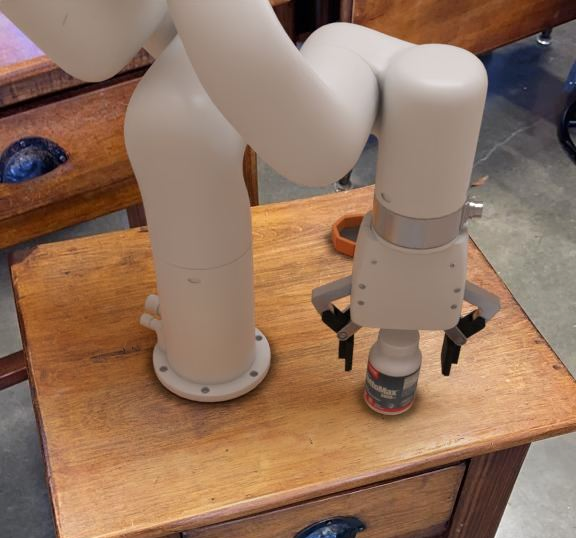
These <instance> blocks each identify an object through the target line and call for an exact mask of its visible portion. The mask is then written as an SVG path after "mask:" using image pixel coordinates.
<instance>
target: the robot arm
mask: <svg viewBox="0 0 576 538" xmlns="http://www.w3.org/2000/svg"><path fill="white" fill-rule="evenodd" d="M0 13H1V14H2V15H3V16H4V17H5V18H6V19H8V20H9V21H10V22H11V23H12V24H13V25H14V26H15V27H16V28H17V29H18V30H19V31H20V32H21V33H22V34H23V35H24V36H26V38H28V40H30V41H31V43H32V44H34V45H35V46H36V47H37V48H38V49H39V50H40V51H41V52H42V53H43V54H44V55H46V57H48V59H50V60H51V61H52V62H53V63H55V65H56V66H58V68H60V69H61V70H62V71H64V72H65V73H67V74H68V75H70V76H72V77H73V78H75V79H77V80H80V81H82V82H87V83H100V82H105V81H106V80H109V79H111V78H113V77H114V76H115V75H117V74H118V73H119V72H120V71H122V70H123V69H124V68H125V67H126V66H127V65H128V64H129V63H130V62H131V61H132V60H133V59H134V58H135V56H137V54H138V53H139V52H140V51H141V50H142V49H144V50H145V51H146V52H147V53H148V54H149V55H150V56H151V57H152V58H153V59H154V62H153V63H152V64H151V65H150V67H149V68H148V69H147V71H146V72H145V73H144V75H143V76H142V77H141V79H140V80H139V82H138V84H137V85H136V87H135V89H134V90H133V92H132V94H131V97H130V99H129V102H128V104H127V107H126V110H125V115H124V122H123V139H124V146H125V150H126V154H127V157H128V160H129V164H130V166H131V168H132V172H133V174H134V176H135V179H136V182H137V185H138V189H139V192H140V196H141V201H142V205H143V209H144V216H145V220H146V226H147V234H148V240H149V244H150V250H151V256H152V261H153V262H152V264H153V269H154V276H155V277H154V278H155V281H156V282H155V283H156V288H157V289H156V290H157V294H155V293H150V294H149V295H148V296H147V297H146V299H145V301H144V309H145V310H146V311H148V312H150V313H152V314H154V315H156V316H159V317H161V318H160V319H159V318H157V317H155V316H153V315H152V314H149V313H147V312H144V313H142V314H141V316H140V317H139V323H140V325H141V326H143V327H145V328H147V329H149V330H153V331H154V332H155V334H156V337H157V342H156V343H155V346H154V348H153V351H152V352H153V353H152V363H153V369H154V373H155V375H156V377H157V379H158V380H159V382H160V383H161V385H163V386H164V387H165V389H167V390H168V391H170V392H171V393H173V394H175V395H176V396H178V397H181V398H184V399H187V400H190V401H196V402H200V403H216V402H224V401H229V400H233V399H236V398H239V397H241V396H244V395H245V394H247V393H249V392H250V391H252V390H254V389H255V388H256V387H257V386H259V385H260V384H261V383H262V381H263V380H264V379H265V377H266V376H267V374H268V373H269V370H270V368H271V360H272V359H271V357H272V356H271V348H270V347H271V346H270V344H269V341H268V339H267V338H266V335H264V333H263V332H262V331H261V330H260V329H259V328H258V327H256V305H255V301H256V300H255V274H254V273H255V272H254V242H253V240H254V239H253V223H252V221H253V220H252V207H251V202H250V201H251V200H250V196H249V192H248V189H247V186H246V182H245V178H244V171H243V170H244V169H243V165H244V164H243V163H244V156H245V152H246V148H247V146H249V147H250V148H251V149H252V151H254V152H255V153H256V155H257V156H258V157H259V158H260V159H261V160H263V162H264V163H265V164H266V165H268V166H269V167H270V168H271V169H272V170H274V171H275V172H276V173H277V174H279V175H280V176H281V177H284V178H285V179H287V180H288V181H290V182H293V183H295V184H297V185H299V186H305V187H311V188H321V187H325V186H328V185H329V186H330V185H332V184H335V183H336V182H338V181H340V180H342V179H343V178H345V176H346V175H347V174H349V173H350V172H351V170H352V169H353V168H354V167H355V165H356V164H357V163H358V161H359V159H360V157H361V155H362V153H363V151H364V148H365V147H366V145H367V142H368V140H369V137H370V135H374V137H375V138H376V139H377V144H378V145H377V156H376V157H377V158H376V168H375V170H376V171H375V182H374V188H373V198H372V199H373V200H372V209H369V210H368V211H367V212H365V215H364V217H363V220H362V223H361V226H360V229H359V233H358V237H357V242H356V247H355V253H354V256H353V261H352V268H351V274H349V275H347V276H344V277H341V278H338V279H336V280H333V281H330V282H328V283H325V284H322V285H320V286H317V287H314V288H313V289H312V290H311V298H310V302H311V304H312V305H313V307H314V309H315V310H316V313H317V314H319V316H320V319H321V322H322V323H323V324H324V325H326V326H327V327H328V328H329V329H331V330H332V331H333V333H335V334H336V339H338V354H337V355H338V356H337V359H338V360H344V372H347V373H349V372H350V371H352V370H353V362H354V361H353V360H354V348H355V334H356V333H357V332H358V331H359V330H361V329H362V328H370V329H380V328H381V329H400V330H418V331H431V332H432V331H433V332H435V331H437V332H438V331H443V332H444V334H443V340H442V346H441V351H440V368H441V375H443V377H450V376H451V375H450V374H451V369H452V366H453V365H458V363H459V359H460V358H459V357H460V354H461V350H462V346H464V345H466V344H467V342H468V339H469V338H471V337H472V336H474V335H476V334H477V333H479V332H480V331H482V330H484V329H485V328H486V325H487V323H488V322H490V321H491V320H492V319H493V318H494V317H495V316H496V315H497V314H498V313H499V312H500V310H501V308H502V307H501V299H500V297H499V296H498V295H496V294H495V293H492V292H491V291H490V290H487V289H485V288H483V287H481V286H479V285H477V284H475V283H473V282H472V281H469V280H467V273H468V258H469V240H470V238H469V237H470V236H469V234H470V233H469V231H470V230H469V222H468V220H472V219H481V218H482V216H483V209H484V202H483V200H475V199H474V198H470V194H469V189H470V183H471V178H472V173H473V167H474V162H475V157H476V153H477V147H478V142H479V137H480V131H481V126H482V121H483V117H484V116H483V115H484V110H485V105H486V100H487V94H488V85H489V80H488V79H489V78H488V73H487V69H486V67H485V65H484V63H483V62H482V61H481V59H479V58H478V57H477V56H476V55H475V54H474V53H472V52H471V51H469V50H467V49H464V48H463V47H459V46H456V45H451V44H446V43H445V44H444V43H424V44H416V43H413V42H409V41H406V40H403V39H400V38H398V37H394V36H391V35H389V34H386V33H383V32H380V31H378V30H376V29H372V28H369V27H367V26H363V25H360V24H356V23H353V22H352V23H350V22H345V21H344V22H343V21H342V22H341V21H340V22H332V23H328V24H325V25H322V26H320V27H319V28H317V29H316V30H314V31H313V32H312V33H311V34H310V35H309V36H308V37H307V38H306V39H305V41H304V42H303V44H302V45H301V47H300V49H298V48H297V46H296V45H295V43H294V42H293V41H292V39H291V38H290V36H289V35H288V33H287V32H286V30H285V29H284V27H283V25H282V23H281V22H280V20H279V18H278V16H277V14H276V13H275V11H274V8H273V6H272V5H271V3H270V0H0ZM346 297H349V304H348V305H347V306H346V307H344V309H343V310H340V309H339V308H338V307H337V306H336V305H335V304H334V303H332V302H335V301H338V300H341V299H344V298H346ZM464 301H465V302H466V303H468V304H470V305H473V306H474V307H476V309H473V310H472V311H470V312H469V313H467V314H466V315H464V316H463V315H462V310H463V305H464V304H463V303H464Z"/></svg>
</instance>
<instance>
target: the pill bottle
mask: <svg viewBox="0 0 576 538" xmlns="http://www.w3.org/2000/svg"><path fill="white" fill-rule="evenodd" d="M420 338H421V335H420V330H400V329H381V328H379V330H378V333H377V339H376V341H375V342H374V343H373V344H372V345H371V346H370V349H369V350H368V351H369V352H368V355H367V357H368V358H367V364H366V374H365V380H364V381H365V382H364V387H363V388H364V389H363V399H364V401H365V403H366V404H367V406H368V407H369V408H370V409H371V410H372V411H374V412H376V413H379V414H381V415H385V416H397V415H401V414H403V413H405V412H407V411H408V410H409V409H410V408H411V407H412V406H413V404H414V402H415V397H416V392H417V388H418V383H419V377H420V372H421V368H422V363H423V362H422V361H423V355H422V351H421V349H420V347H419V346H420Z"/></svg>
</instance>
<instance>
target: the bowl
mask: <svg viewBox="0 0 576 538" xmlns="http://www.w3.org/2000/svg"><path fill="white" fill-rule="evenodd" d="M365 214H366V213H365ZM365 214H364V213H353V214H347V215H342V216H341V217H339V218H338V219H337V220H336V221H335V222H334V223H333V224H332V225H331V237H330V239H331V241H332V244H333V246H334V249H335V250H336V252H339V253H342V254H344V255H346V256H349V257H351V258H354V253H355V247H356V242H357V237H358V233H359V229H360V226H361V223H362V220H363V217H364V215H365Z"/></svg>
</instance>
